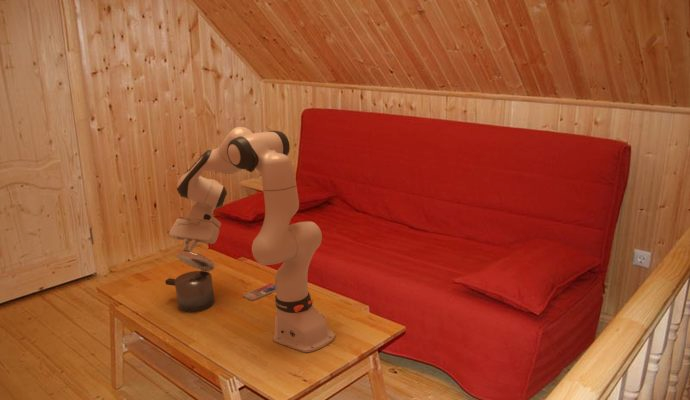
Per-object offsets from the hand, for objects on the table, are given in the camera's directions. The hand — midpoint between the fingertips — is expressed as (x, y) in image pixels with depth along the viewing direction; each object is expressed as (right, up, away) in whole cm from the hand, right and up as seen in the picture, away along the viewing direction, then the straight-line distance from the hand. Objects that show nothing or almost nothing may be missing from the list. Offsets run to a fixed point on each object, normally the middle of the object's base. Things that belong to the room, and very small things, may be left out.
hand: (187, 250), depth 214 cm
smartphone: (+27, -19, +15) cm, 36 cm away
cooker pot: (-1, -22, +9) cm, 23 cm away
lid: (+2, -5, +6) cm, 8 cm away
